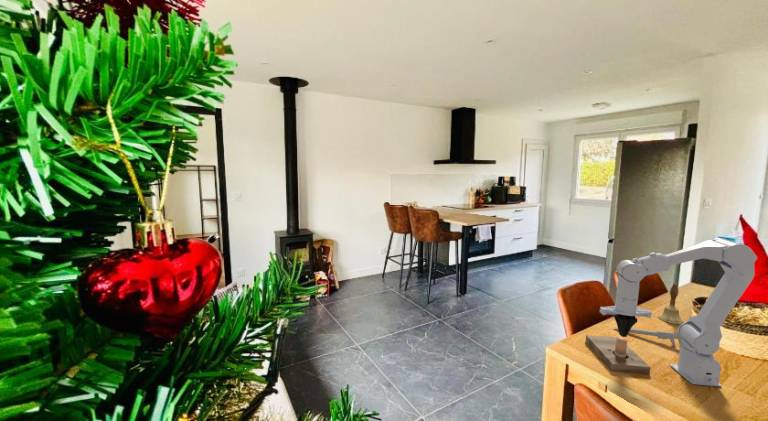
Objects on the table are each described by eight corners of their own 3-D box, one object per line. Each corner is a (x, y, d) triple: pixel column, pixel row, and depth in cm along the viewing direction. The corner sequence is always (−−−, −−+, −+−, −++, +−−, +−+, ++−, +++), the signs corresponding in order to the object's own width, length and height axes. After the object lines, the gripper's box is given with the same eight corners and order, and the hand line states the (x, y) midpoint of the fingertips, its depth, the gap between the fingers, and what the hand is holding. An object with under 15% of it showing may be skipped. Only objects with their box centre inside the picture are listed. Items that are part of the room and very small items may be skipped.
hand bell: (655, 313, 143) (660, 279, 141) (680, 318, 139) (685, 283, 136) (660, 321, 136) (664, 285, 134) (686, 326, 132) (691, 289, 129)
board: (649, 374, 101) (650, 367, 101) (611, 370, 103) (612, 363, 102) (617, 343, 119) (617, 337, 118) (585, 341, 120) (586, 334, 120)
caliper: (681, 347, 117) (683, 331, 116) (681, 348, 116) (683, 332, 115) (613, 329, 130) (615, 314, 129) (613, 330, 129) (614, 315, 128)
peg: (627, 364, 106) (629, 342, 105) (616, 363, 107) (618, 341, 106) (622, 359, 109) (624, 337, 108) (612, 357, 110) (614, 336, 109)
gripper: (643, 293, 107) (638, 331, 109) (596, 291, 110) (593, 327, 111) (657, 302, 101) (652, 342, 102) (607, 299, 103) (603, 338, 105)
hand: (622, 335), depth 106 cm, fingers closed
